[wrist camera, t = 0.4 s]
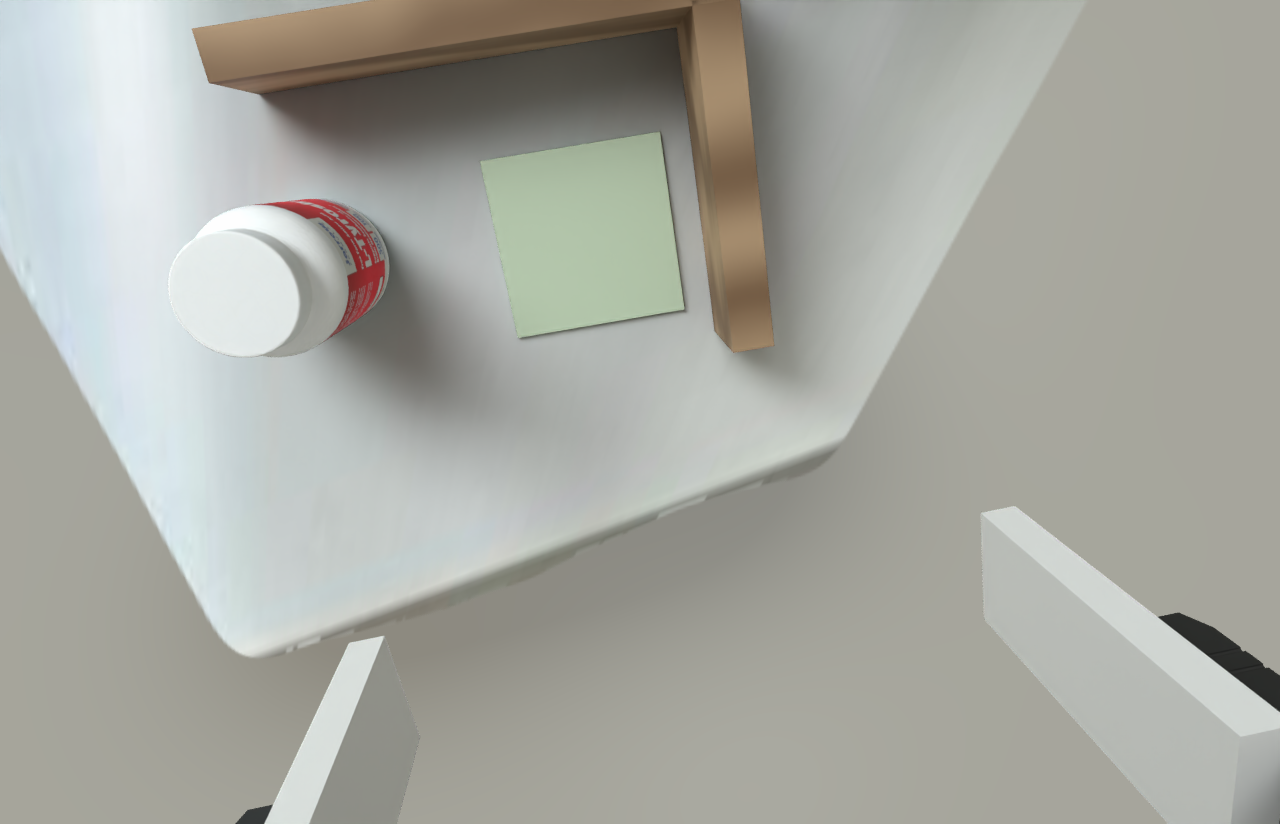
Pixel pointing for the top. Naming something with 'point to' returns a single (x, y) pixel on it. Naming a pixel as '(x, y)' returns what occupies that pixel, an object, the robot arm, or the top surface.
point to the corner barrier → (530, 20)
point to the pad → (585, 233)
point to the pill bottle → (278, 277)
